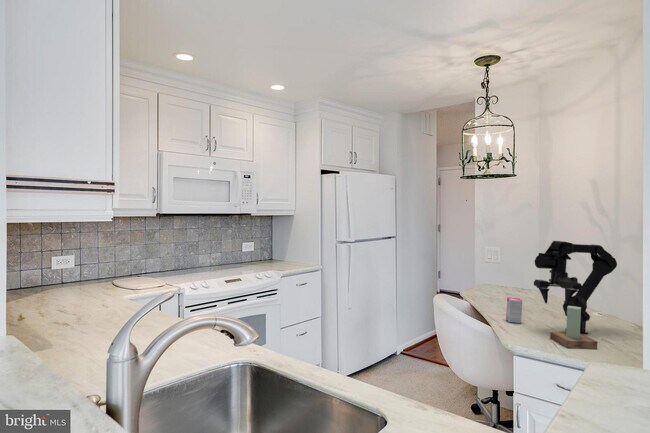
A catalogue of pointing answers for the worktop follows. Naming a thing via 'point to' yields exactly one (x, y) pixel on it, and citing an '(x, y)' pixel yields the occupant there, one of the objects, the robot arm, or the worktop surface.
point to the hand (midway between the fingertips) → (556, 303)
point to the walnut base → (573, 341)
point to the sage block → (573, 322)
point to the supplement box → (514, 310)
